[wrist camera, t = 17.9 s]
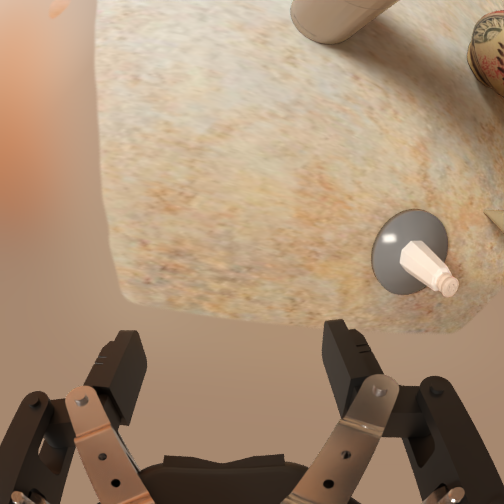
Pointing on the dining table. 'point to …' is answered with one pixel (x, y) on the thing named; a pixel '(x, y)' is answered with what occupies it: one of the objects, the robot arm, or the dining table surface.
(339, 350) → the robot arm
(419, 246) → the pepper shaker
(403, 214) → the grey round coaster
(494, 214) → the ice cream cone
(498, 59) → the ceramic jug
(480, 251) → the dining table surface
